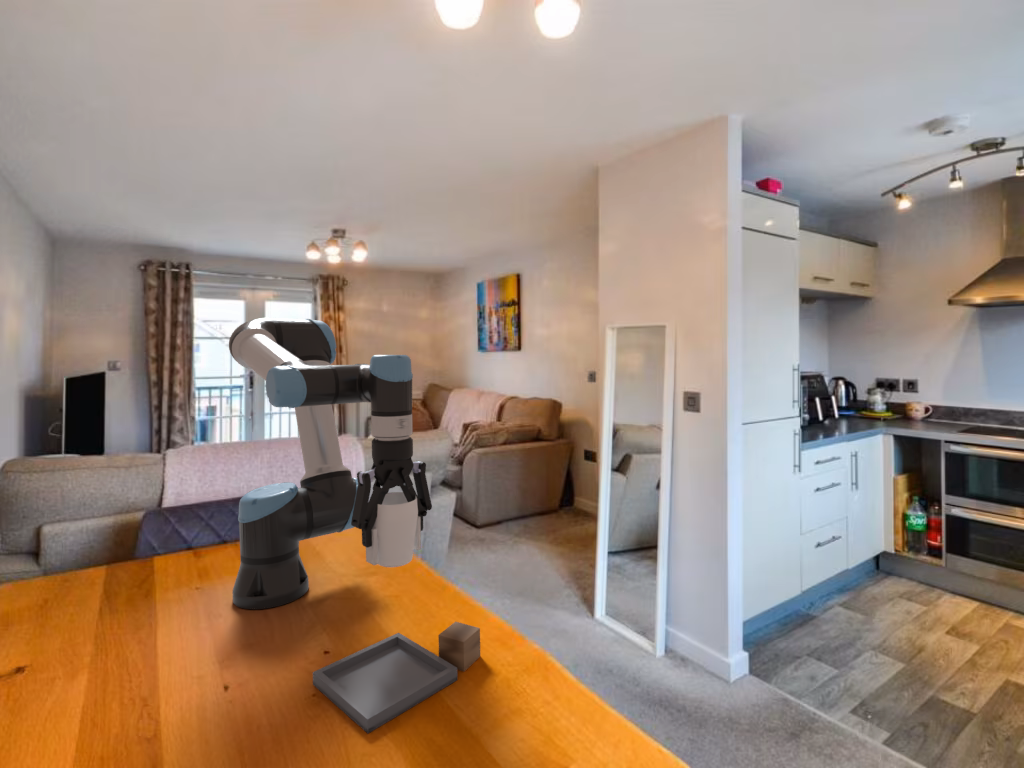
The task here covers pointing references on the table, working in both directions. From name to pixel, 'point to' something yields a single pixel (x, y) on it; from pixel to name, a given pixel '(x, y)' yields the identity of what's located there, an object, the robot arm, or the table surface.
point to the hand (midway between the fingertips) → (394, 555)
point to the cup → (396, 529)
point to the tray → (383, 680)
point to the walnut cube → (460, 645)
